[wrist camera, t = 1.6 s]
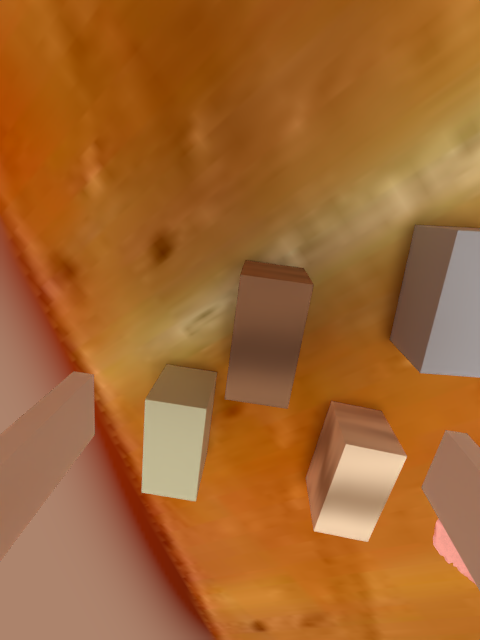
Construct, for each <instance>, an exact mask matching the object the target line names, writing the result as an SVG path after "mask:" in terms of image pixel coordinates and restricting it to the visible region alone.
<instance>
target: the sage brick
mask: <svg viewBox="0 0 480 640" xmlns="http://www.w3.org/2000/svg"><path fill="white" fill-rule="evenodd" d="M216 377H217V372H213V371H207V370H200V369H194V368H187V367H181V366H175V365H168V364H167V365H166V367H165V368H164V370H163V371H162V373H161V375H160V376H159V378H158V380H157V381H156V383H155V384H154V386H153V388H152V389H151V391H150V392H149V394H148V396H147V397H146V399H145V418H144V444H143V470H142V493H148V494H154V495H160V496H166V497H172V498H178V499H184V500H190V501H196V498H197V494H198V490H199V485H200V481H201V477H202V473H203V468H204V464H205V460H206V455H207V450H208V442H209V434H210V425H211V417H212V409H213V401H214V393H215V385H216Z"/></svg>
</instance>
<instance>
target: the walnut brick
mask: <svg viewBox="0 0 480 640" xmlns="http://www.w3.org/2000/svg"><path fill="white" fill-rule="evenodd" d="M312 290H313V283H312V281H311V280H310V278H309V276H308V275H307V273H306V271H305V270H304V268H298V267H290V266H283V265H276V264H269V263H262V262H255V261H247V260H246V261H245V263H244V266H243V269H242V272H241V275H240V283H239V290H238V298H237V306H236V314H235V322H234V329H233V337H232V345H231V353H230V361H229V368H228V376H227V384H226V392H225V399H227V400H234V401H240V402H247V403H253V404H260V405H267V406H273V407H280V408H287V409H288V405H289V400H290V395H291V391H292V386H293V381H294V376H295V371H296V367H297V362H298V357H299V352H300V347H301V343H302V338H303V333H304V328H305V324H306V319H307V314H308V309H309V304H310V300H311V295H312Z"/></svg>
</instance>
